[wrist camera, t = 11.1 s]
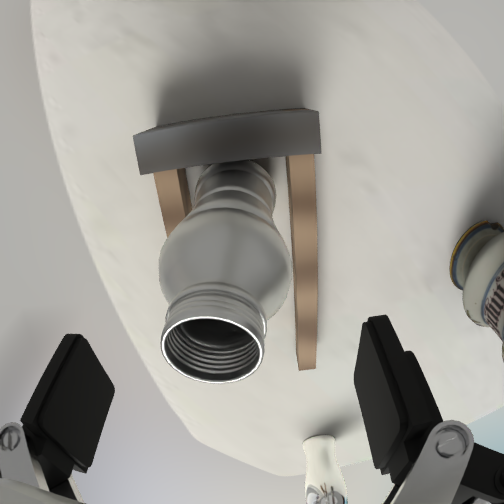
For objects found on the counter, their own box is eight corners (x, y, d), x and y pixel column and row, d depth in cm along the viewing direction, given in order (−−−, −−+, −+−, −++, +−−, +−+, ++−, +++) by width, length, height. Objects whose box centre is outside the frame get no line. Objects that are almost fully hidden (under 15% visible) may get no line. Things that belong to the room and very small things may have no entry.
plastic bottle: (200, 151, 27) (102, 269, 9) (277, 154, 27) (322, 281, 9) (200, 218, 30) (136, 395, 12) (272, 222, 30) (293, 406, 12)
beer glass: (342, 441, 50) (355, 509, 37) (310, 453, 52) (317, 519, 39) (328, 429, 48) (340, 504, 34) (293, 441, 50) (299, 514, 36)
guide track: (156, 126, 26) (132, 135, 20) (304, 108, 25) (318, 111, 20) (209, 359, 39) (204, 396, 33) (312, 351, 38) (319, 387, 33)
